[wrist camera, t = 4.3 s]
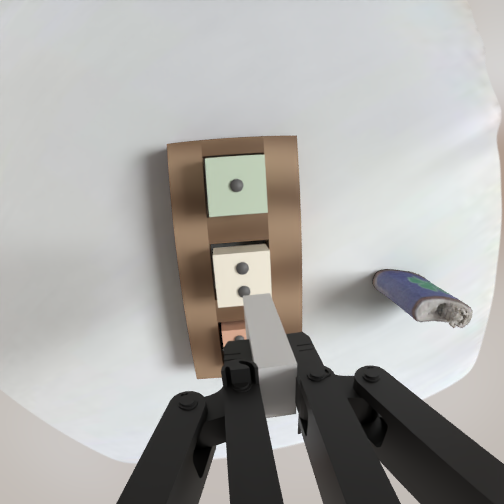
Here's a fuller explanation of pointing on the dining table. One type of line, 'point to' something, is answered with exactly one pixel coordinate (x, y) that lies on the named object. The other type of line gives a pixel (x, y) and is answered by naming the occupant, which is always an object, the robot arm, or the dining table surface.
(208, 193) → the tile
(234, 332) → the three-pip tile
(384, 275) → the flask
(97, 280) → the dining table surface
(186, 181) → the board
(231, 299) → the tile
